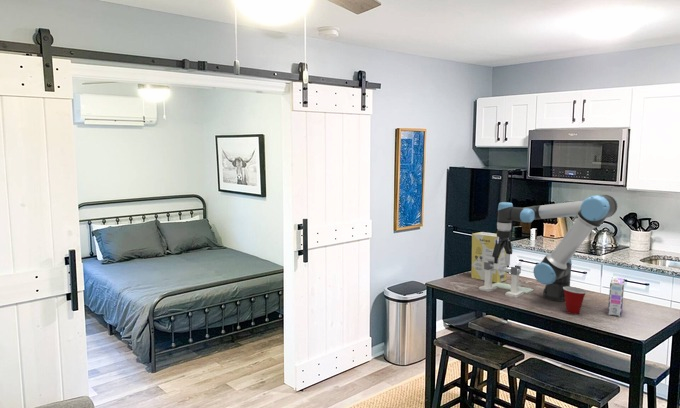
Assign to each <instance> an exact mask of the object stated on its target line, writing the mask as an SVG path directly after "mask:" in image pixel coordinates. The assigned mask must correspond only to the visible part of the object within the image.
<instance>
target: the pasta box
mask: <svg viewBox="0 0 680 408" xmlns="http://www.w3.org/2000/svg"><path fill="white" fill-rule="evenodd" d="M496 240H499V237H497V233H492V232H485V231H480V232H475V233H473V232H472V233H471V279H476V280H481V281H485V269H484V262H488V261H493V262H494V257H492V255H493V251H494V247H495V244H496ZM505 254H507V253H506V251H505V249H504V248H502V250H501V253H500V255H499V265H500V266H505V267H508V265H505ZM507 277H508V272H503V271H498V270H492V283H498V282H500V283H503V282H505V281H507V279H508V278H507Z"/></svg>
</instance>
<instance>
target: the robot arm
mask: <svg viewBox="0 0 680 408" xmlns="http://www.w3.org/2000/svg"><path fill="white" fill-rule="evenodd" d="M497 207H498V208H497V222H496V229H497V230H496V234H497V237H499V240H496V244H495V247H494V251H493V255H492V257H494V269H498V270H499V255H500V253H501V250H502V248H504V249H505V251H506V253H507V254H505V265H507V267H509V266H510V265H511V255H512V254H513V247H512V240H511V239H512V238H511V236H512V231H511V230H512V222H513V221H514V222H521V223H532V222H533V221H534V220H535V221H536V220H545V219H554V218H556V219H557V218H568V217H577V219H576V220H575V221H574V223H573V224H572V225H571V227H570V228H569V229H568V230H567V232H566V234H565V235H564V236H563V238H562V239H561V240H560V242H559V243H558V244H557V245H556V247H555V248H554V250H552V252H551V253H547V254H546V255H545V256H544V258H543V259H542V260H541V261H540V262H538V263H537V264H536V265H535V266H534V267H533V271H532V272H533V275H534V276H533V277H534V278H535V280H536V281H537V282H538V283H540V284H542V285H545V286H544V287H543V291H542V297H543V298H544V299H547V300H550V301H554V302H555V301H556V302H565V294H564V289H563V287H566V286H568V287H571V277H572V264H573V263H572V257H573V256H574V255H575V253H576V251H578V250H579V248H580V246H582V244H583V243H584V242H585V240H586V239H587V238H588V236H589V235H590V234H591V232H592V231H593V230H594V229H596V228H599V227H601V225H602V224H603V223H604V221H605V220H606V219H607V218H611V217H612V216H614V215H615V214H616V212H617V211H618V203H617V200H616V199H615V198H614V197H613V196H611V195H609V194H599V195H597V194H596V195H591V196H589V197H587V198H585V199H584V200H577V201H569V202H560V203H551V204H544V205H543V204H542V205H532V206H526V207H518V206H517V207H516V206H514V205H513V203H512V202H509V201H508V202H507V201H506V202H505V201H502V202H499V203H498V206H497ZM510 267H511V266H510Z"/></svg>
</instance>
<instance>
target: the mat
mask: <svg viewBox="0 0 680 408" xmlns="http://www.w3.org/2000/svg"><path fill="white" fill-rule="evenodd" d="M492 285H495V286H497V289H502V290H507V291H511V283H506V282H498V283H496V282H493V283H492ZM519 291H524V294H525V295H526V294H527V295H528V294H529V293H531V292H533V291H535V289H534V288H530V287H524V286H520V285H519Z"/></svg>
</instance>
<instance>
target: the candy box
mask: <svg viewBox="0 0 680 408" xmlns="http://www.w3.org/2000/svg"><path fill="white" fill-rule="evenodd" d="M624 290H625V278H622V277H621V278H620V277H615V276H614V277H611V280H610V284H609V293H608V294H609V295H608V297H609V298H608V307H607V308H608V309H607V315H608V316H615V317H619V318H620V317H622V312H623V304H624V292H625V291H624Z"/></svg>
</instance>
